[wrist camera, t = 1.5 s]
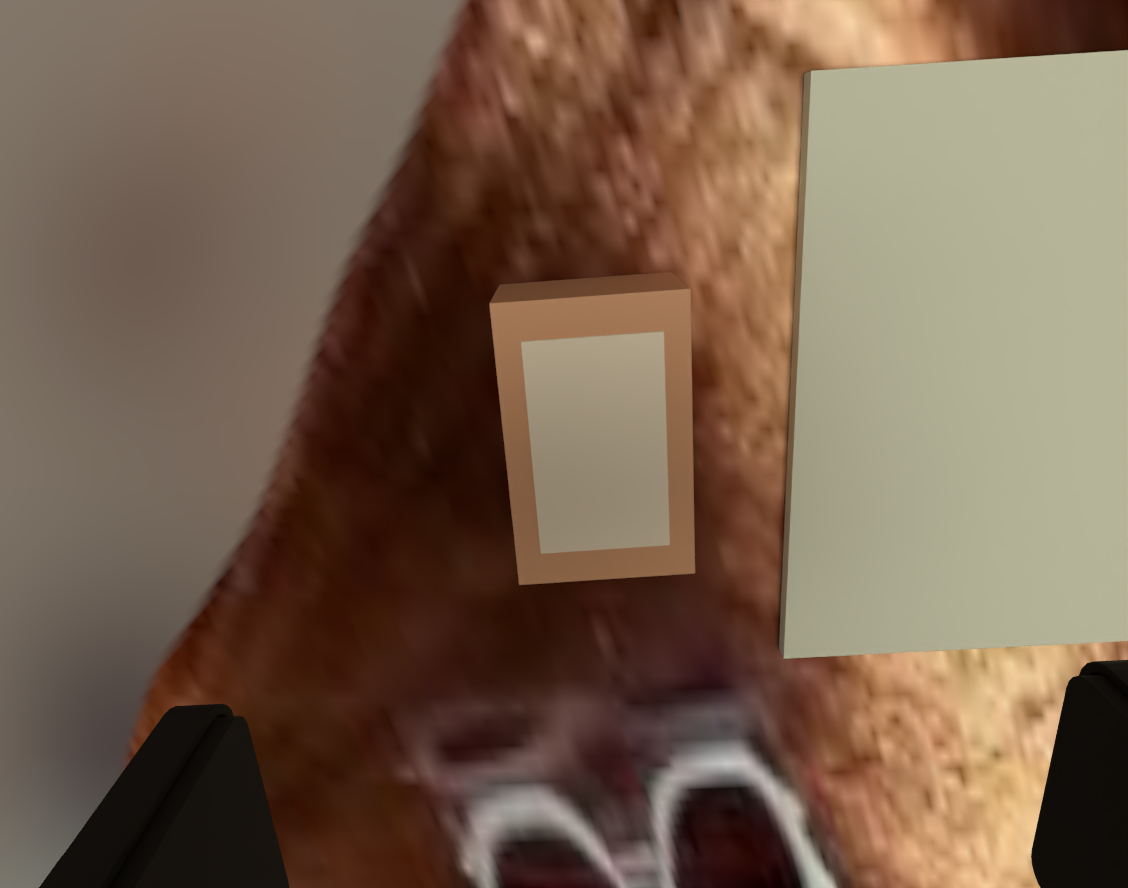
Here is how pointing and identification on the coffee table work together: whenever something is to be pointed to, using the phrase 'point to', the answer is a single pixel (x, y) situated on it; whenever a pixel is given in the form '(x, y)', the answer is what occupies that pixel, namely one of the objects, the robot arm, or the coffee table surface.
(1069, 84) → the play mat
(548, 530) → the block
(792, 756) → the coffee table surface
